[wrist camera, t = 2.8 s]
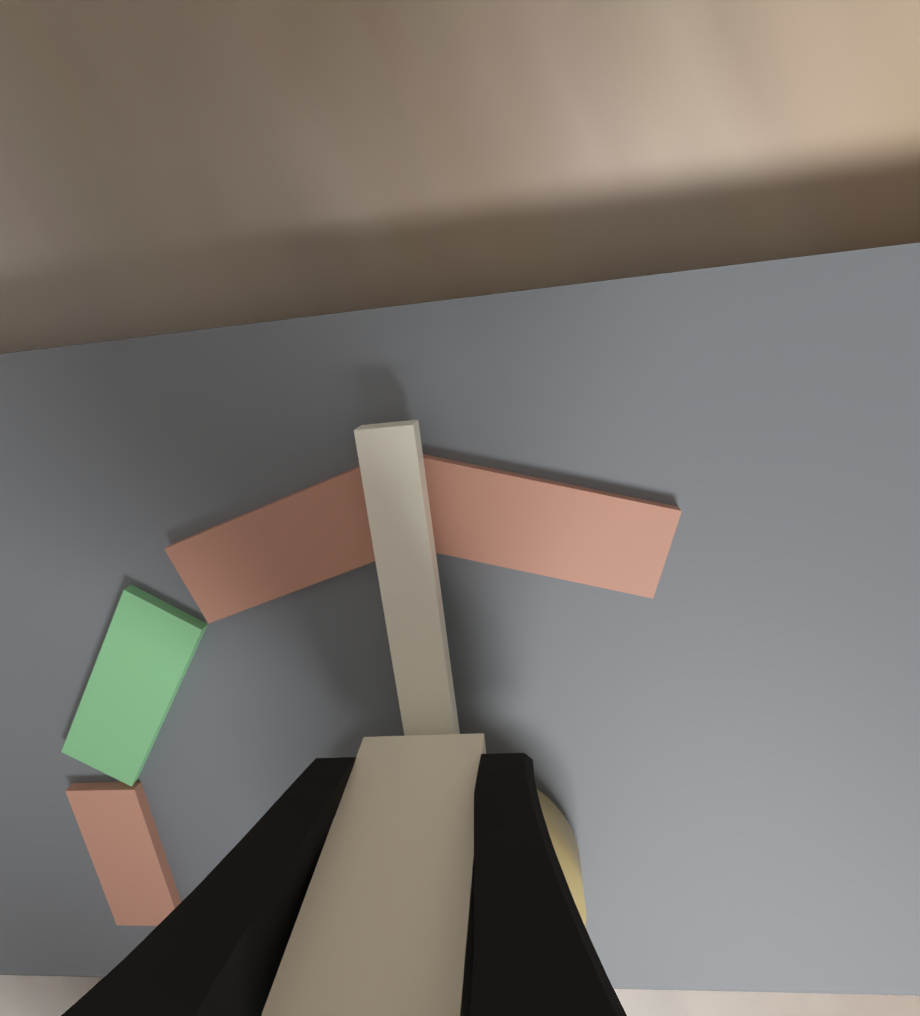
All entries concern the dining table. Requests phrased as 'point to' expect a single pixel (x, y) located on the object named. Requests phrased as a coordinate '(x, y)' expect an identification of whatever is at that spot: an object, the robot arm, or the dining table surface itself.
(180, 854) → the tuner board
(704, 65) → the dining table surface
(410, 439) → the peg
